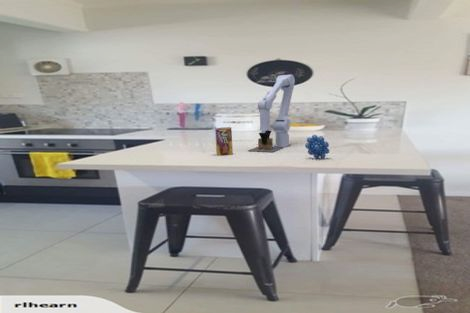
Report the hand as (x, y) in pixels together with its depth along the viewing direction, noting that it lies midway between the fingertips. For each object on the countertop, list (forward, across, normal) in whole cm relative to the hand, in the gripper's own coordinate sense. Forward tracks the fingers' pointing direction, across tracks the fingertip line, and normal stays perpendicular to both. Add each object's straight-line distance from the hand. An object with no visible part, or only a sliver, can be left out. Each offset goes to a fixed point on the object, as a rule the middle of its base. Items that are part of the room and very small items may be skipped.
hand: (265, 143), depth 197 cm
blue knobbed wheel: (+4, -27, -30) cm, 40 cm away
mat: (+4, 0, 0) cm, 4 cm away
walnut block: (+3, 0, 0) cm, 3 cm away
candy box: (+4, -16, +21) cm, 27 cm away
